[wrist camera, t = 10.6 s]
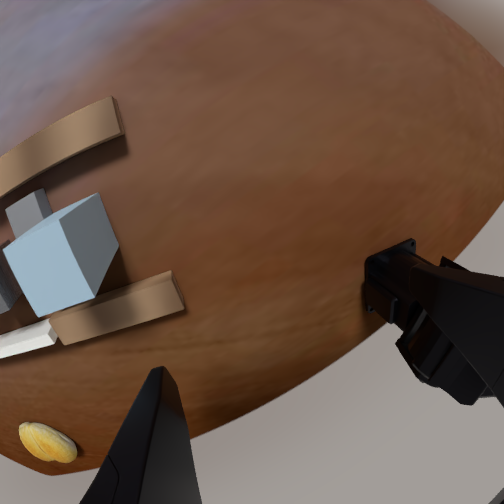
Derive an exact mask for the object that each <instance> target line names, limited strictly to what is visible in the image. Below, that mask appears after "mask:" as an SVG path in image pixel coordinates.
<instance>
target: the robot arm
mask: <svg viewBox="0 0 504 504" xmlns="http://www.w3.org/2000/svg"><path fill="white" fill-rule="evenodd" d="M415 251H416V241H415V240H414V239H412V238H410V239H408V240H406V241H403V242H401V243H399V244H397V245H394V246H392V247H390V248H388V249H385V250H383V251H381V252H378V253H376V254H374V255H371V256H369V257H368V258H367V259H366V311H367V312H368V313H373V312H375V311H376V312H377V313H378V314H379V315H380V316H382V317H383V318H384V319H385V320H386V321H387V322H388V323H390V324H392V323H394V324H396V325H397V326H398V327H399V328H400V329H401V330H402V331H403V334H402V335H401V337H400V338H399V339H398V340H397V342H396V343H395V345H396V346H397V347H398V349H399V351H400V353H401V354H402V356H403V358H404V359H405V361H406V362H407V364H408V365H409V367H410V368H411V370H412V371H413V373H414V374H415V376H416V377H417V378H418V379H419V380H420V381H421V382H422V383H426V384H428V385H430V386H433V387H437V388H438V387H440V388H441V389H443V390H444V391H446V392H447V393H448V394H449V395H451V396H452V397H453V398H454V399H455V400H456V401H458V402H459V403H460V404H464V405H473V404H474V403H475V402H476V401H477V400H478V398H485V397H496V398H497V399H498V400H499V402H500V403H501V405H502V406H503V407H504V277H498V276H494V275H488V274H482V273H475V272H471V271H469V270H467V269H465V268H464V267H462V266H460V265H458V264H456V263H455V262H453V261H451V260H449V259H447V258H445V257H444V256H442V258H441V261H440V262H441V263H440V265H439V266H435V265H434V264H432V263H430V262H428V261H427V260H425V259H423V258H421V257H420V256H418V255H416V254H415ZM371 261H372V262H371ZM370 262H371V263H370ZM79 504H202V501H201V496H200V492H199V487H198V482H197V477H196V473H195V468H194V461H193V456H192V450H191V444H190V437H189V431H188V426H187V422H186V419H185V415H184V411H183V407H182V403H181V399H180V395H179V391H178V387H177V384H176V382H175V381H174V379H173V378H172V376H171V375H170V373H169V372H168V370H167V369H166V368H165V367H164V366H160V367H156V368H153V369H152V370H151V371H150V373H149V375H148V376H147V378H146V380H145V382H144V384H143V386H142V388H141V389H140V391H139V393H138V395H137V397H136V399H135V401H134V403H133V405H132V406H131V408H130V410H129V412H128V414H127V416H126V418H125V420H124V422H123V424H122V426H121V428H120V430H119V432H118V434H117V436H116V437H115V439H114V441H113V443H112V445H111V447H110V449H109V451H108V455H106V457H105V459H104V461H103V463H102V465H101V467H100V469H99V471H98V473H97V475H96V477H95V479H94V480H93V482H92V484H91V485H90V487H89V489H88V490H87V492H86V494H85V495H84V497H83V498H82V500H81V501H80V503H79ZM489 504H504V488H503V489H502V490H501V491H500V492H499V493H498V494H497V495H496V497H495V498H494V499H493V500H492V501H491V502H490V503H489Z"/></svg>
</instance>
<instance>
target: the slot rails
mask: <svg viewBox="0 0 504 504" xmlns="http://www.w3.org/2000/svg"><path fill="white" fill-rule="evenodd" d="M123 134H125V132H124V129H123V125H122V121H121V117H120V113H119V109H118V105H117V101H116V99H115V98H113V97H112V96H109V97H107V98H104V99H102V100H100V101H97V102H95V103H93V104H91V105H89V106H86V107H84V108H82V109H80V110H78V111H76V112H74V113H72V114H70V115H68V116H66V117H64V118H62V119H60V120H59V121H57V122H55V123H53V124H51V125H50V126H48V127H46V128H44V129H43V130H41V131H39V132H38V133H36V134H34V135H33V136H31V137H29V138H28V139H26V140H25V141H23V142H22V143H20V144H19V145H17V146H16V147H14V148H13V149H11V150H10V151H9V152H7V153H6V154H4V155H3V156H2V157H0V199H1V198H3V197H4V196H6V195H7V194H9V193H10V192H12V191H13V190H15V189H17V188H18V187H20V186H21V185H23V184H24V183H26V182H28V181H29V180H31V179H33V178H34V177H36V176H38V175H40V174H41V173H43V172H45V171H47V170H49V169H50V168H52V167H54V166H56V165H58V164H60V163H62V162H64V161H65V160H67V159H69V158H71V157H73V156H75V155H78V154H80V153H82V152H84V151H86V150H88V149H90V148H93V147H95V146H97V145H99V144H102V143H104V142H106V141H109V140H111V139H113V138H116V137H118V136H121V135H123ZM183 309H184V300H183V296H182V294H181V292H180V289H179V287H178V285H177V282H176V280H175V278H174V275H173V273H172V270H170V271H167V272H165V273H162V274H159V275H156V276H153V277H150V278H147V279H144V280H141V281H138V282H135V283H132V284H129V285H127V286H124V287H121V288H118V289H115V290H112V291H109V292H106V293H103V294H101V295H98V296H95V298H92V299H90V300H87V301H84V302H81V303H78V304H75V305H72V306H69V307H67V308H64V309H61V310H58V311H55V312H53V313H52V315H51V317H50V319H49V321H48V322H49V323H50V325H51V326H52V328H53V330H54V331H55V333H56V334H57V335H58V337H59V338H60V340H61V341H62V343H63V344H64V345H68V344H71V343H75V342H78V341H82V340H85V339H89V338H92V337H96V336H99V335H103V334H106V333H109V332H113V331H116V330H119V329H123V328H126V327H129V326H133V325H136V324H139V323H142V322H146V321H149V320H152V319H155V318H158V317H161V316H165V315H168V314H171V313H174V312H177V311H180V310H183Z"/></svg>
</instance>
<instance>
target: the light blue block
mask: <svg viewBox="0 0 504 504" xmlns="http://www.w3.org/2000/svg"><path fill="white" fill-rule="evenodd" d="M5 210H6V213H7V216H8V219H9V222H10V224H11V227H12V229H13V232H14V235H15V237H16V240H15V241H13V242H12V243H11V244H9V245H8V246H7V247H6V248H4V249H3V252H4V254H5V256H6V258H7V261H8V263H9V265H10V267H11V269H12V271H13V273H14V275H15V277H16V279H17V281H18V283H19V285H20V287H21V289H22V290H23V292H24V294H25V296H26V298H27V299H28V301H29V303H30V305H31V306H32V308H33V310H34V311H35V313H36V315H37V316H38V317H41V316H44V315H47V314H50V313H52V312H55V311H58V310H61V309H64V308H67V307H69V306H72V305H75V304H78V303H81V302H84V301H87V300H90V299H92V298H95V296H96V294H97V292H98V289H99V287H100V285H101V283H102V280H103V278H104V276H105V274H106V272H107V270H108V267H109V265H110V263H111V261H112V259H113V257H114V255H115V253H116V251H117V249H118V247H119V244H118V242H117V240H116V237H115V235H114V232H113V230H112V227H111V225H110V222H109V219H108V217H107V214H106V211H105V209H104V206H103V203H102V200H101V198H100V195H99V192H98V193H96V194H94V195H91V196H89V197H87V198H85V199H82V200H80V201H78V202H76V203H74V204H72V205H69V206H67V207H65V208H63V209H61V210H59V211H57V212H55V213H52V210H51V208H50V205H49V202H48V199H47V196H46V193H45V190H44V188H42V189H39V190H37V191H34V192H32V193H31V194H29V195H27V196H26V197H24V198H22V199H21V200H19V201H18V202H16V203H14V204H13V205H11V206H10V207H8V208H7V209H5Z"/></svg>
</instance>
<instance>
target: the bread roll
mask: <svg viewBox="0 0 504 504" xmlns="http://www.w3.org/2000/svg"><path fill="white" fill-rule="evenodd" d="M19 434H20V438H21V440H22V442H23V444H24V446H25V447H26V448H27V450H28V451H29V452H30V453H32V454H33V455H34V456H36V457H37V458H39V459H41V460H44V461H53V460H57V461H59V462H63V463H69V462H71V461H73V460H74V459H75V458H76V456H77V449H76V446H75V443H74V442H73V441H72V440H71V439H70V438H69V437H67V436H66V435H65V434H63V433H61V432H59V431H57V430H56V429H54V428H52V427H49V426H47V425H45V424H41V423H30V422H25V423H22V424H21V425H20V426H19Z"/></svg>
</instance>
